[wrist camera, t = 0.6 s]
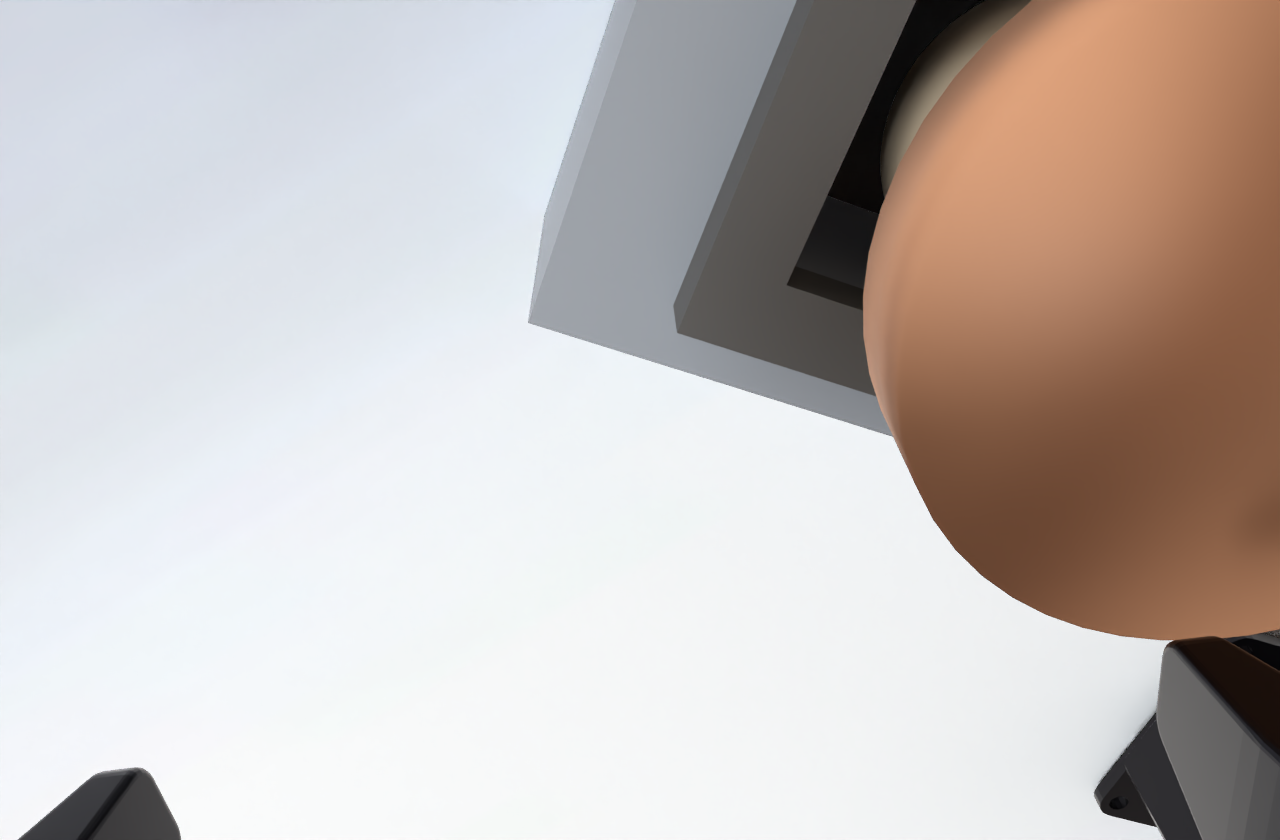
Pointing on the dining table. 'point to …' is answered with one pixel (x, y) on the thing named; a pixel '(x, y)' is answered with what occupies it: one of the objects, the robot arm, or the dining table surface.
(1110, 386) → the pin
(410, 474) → the dining table surface
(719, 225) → the socket block
